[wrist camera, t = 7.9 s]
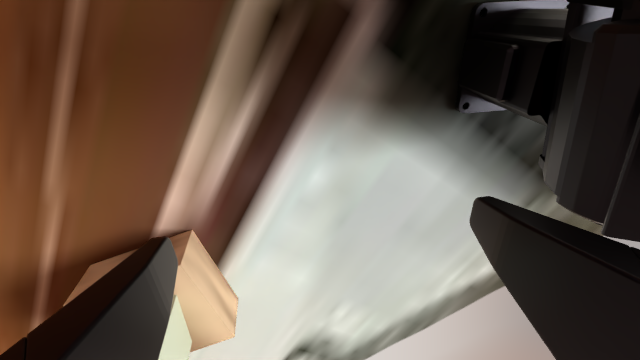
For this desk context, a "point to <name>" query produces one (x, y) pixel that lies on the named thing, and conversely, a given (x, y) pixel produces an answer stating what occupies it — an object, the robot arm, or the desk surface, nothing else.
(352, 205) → the desk surface
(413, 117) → the desk surface
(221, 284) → the oak block
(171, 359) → the cube
